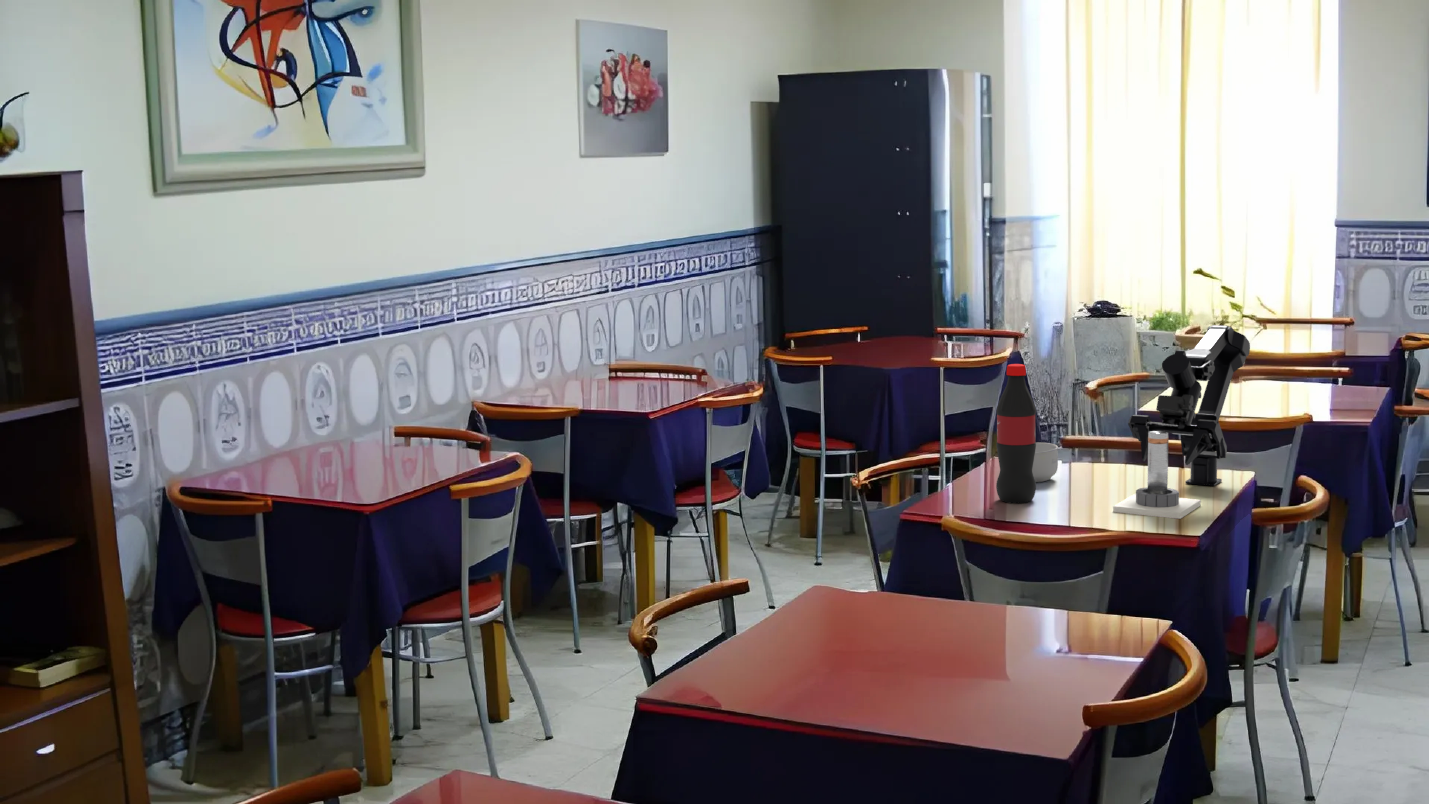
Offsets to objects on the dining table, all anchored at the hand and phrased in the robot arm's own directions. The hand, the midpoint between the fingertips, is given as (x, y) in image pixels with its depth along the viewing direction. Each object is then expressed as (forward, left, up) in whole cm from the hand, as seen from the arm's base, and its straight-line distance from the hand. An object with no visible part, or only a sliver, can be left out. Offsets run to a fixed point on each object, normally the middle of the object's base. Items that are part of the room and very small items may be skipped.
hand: (1164, 462), depth 308 cm
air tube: (+4, 0, -8) cm, 9 cm away
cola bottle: (+10, -29, -9) cm, 32 cm away
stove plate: (+4, 0, -9) cm, 10 cm away
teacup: (-14, -35, -10) cm, 39 cm away
